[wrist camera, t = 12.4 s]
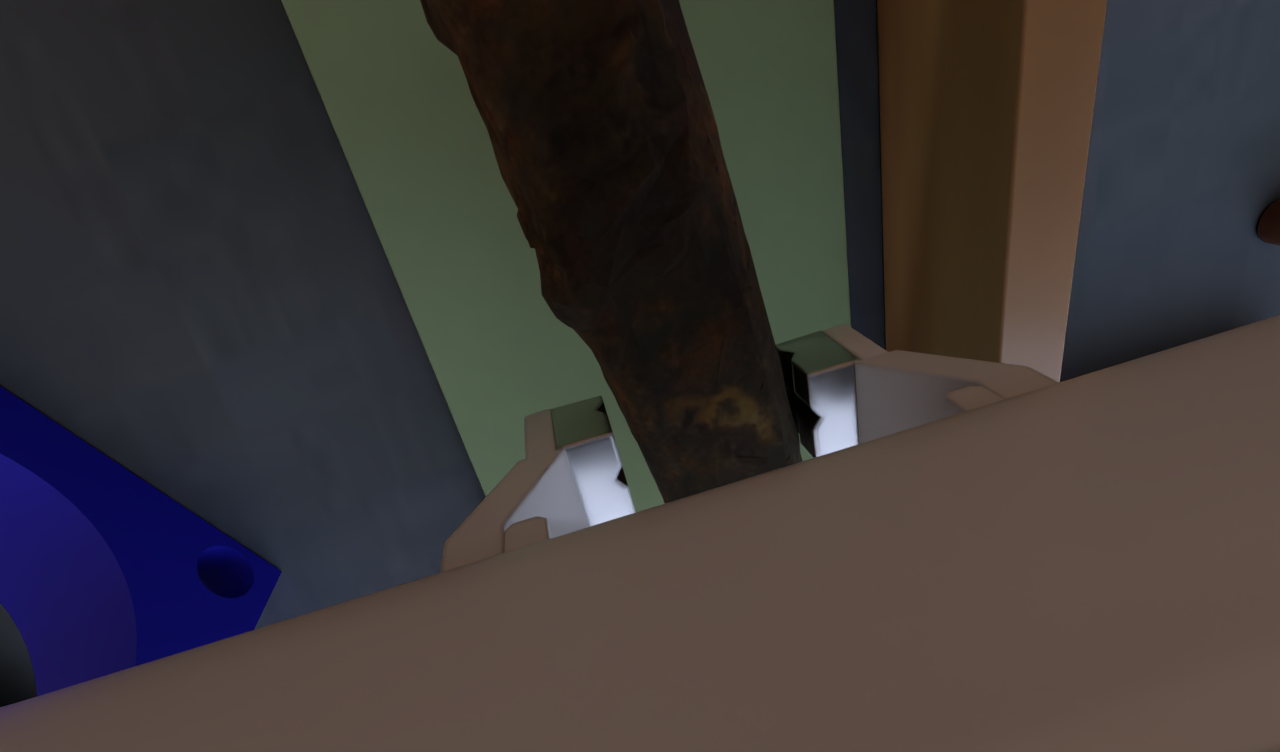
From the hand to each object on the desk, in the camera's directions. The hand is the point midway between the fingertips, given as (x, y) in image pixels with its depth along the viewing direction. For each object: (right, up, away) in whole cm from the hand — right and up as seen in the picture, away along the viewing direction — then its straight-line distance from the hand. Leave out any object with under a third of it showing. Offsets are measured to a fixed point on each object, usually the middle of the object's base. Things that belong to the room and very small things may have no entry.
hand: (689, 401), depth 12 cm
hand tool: (0, +1, +2) cm, 2 cm away
